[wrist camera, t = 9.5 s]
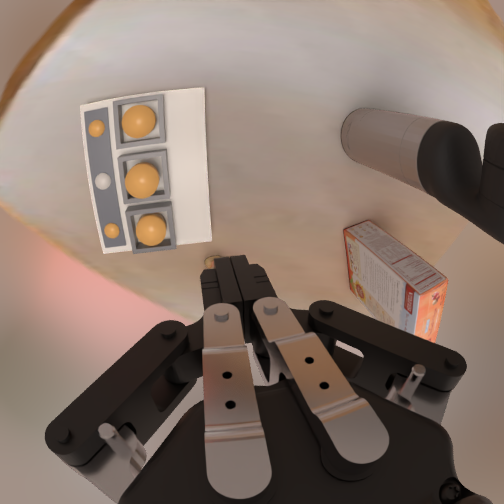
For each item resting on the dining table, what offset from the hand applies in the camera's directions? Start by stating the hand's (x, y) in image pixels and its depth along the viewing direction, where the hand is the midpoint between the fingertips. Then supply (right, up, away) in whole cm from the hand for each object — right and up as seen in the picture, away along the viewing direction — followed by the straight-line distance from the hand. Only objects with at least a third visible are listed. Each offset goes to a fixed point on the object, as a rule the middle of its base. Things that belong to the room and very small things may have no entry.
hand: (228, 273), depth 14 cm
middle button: (-12, +10, +19) cm, 24 cm away
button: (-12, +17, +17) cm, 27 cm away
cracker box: (+21, 0, +39) cm, 44 cm away
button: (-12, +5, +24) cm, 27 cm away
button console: (-13, +12, +23) cm, 29 cm away
